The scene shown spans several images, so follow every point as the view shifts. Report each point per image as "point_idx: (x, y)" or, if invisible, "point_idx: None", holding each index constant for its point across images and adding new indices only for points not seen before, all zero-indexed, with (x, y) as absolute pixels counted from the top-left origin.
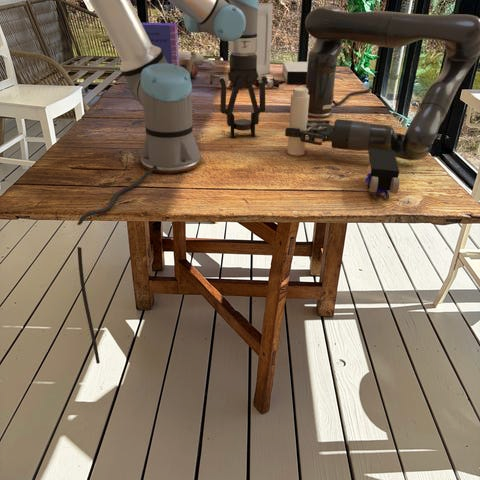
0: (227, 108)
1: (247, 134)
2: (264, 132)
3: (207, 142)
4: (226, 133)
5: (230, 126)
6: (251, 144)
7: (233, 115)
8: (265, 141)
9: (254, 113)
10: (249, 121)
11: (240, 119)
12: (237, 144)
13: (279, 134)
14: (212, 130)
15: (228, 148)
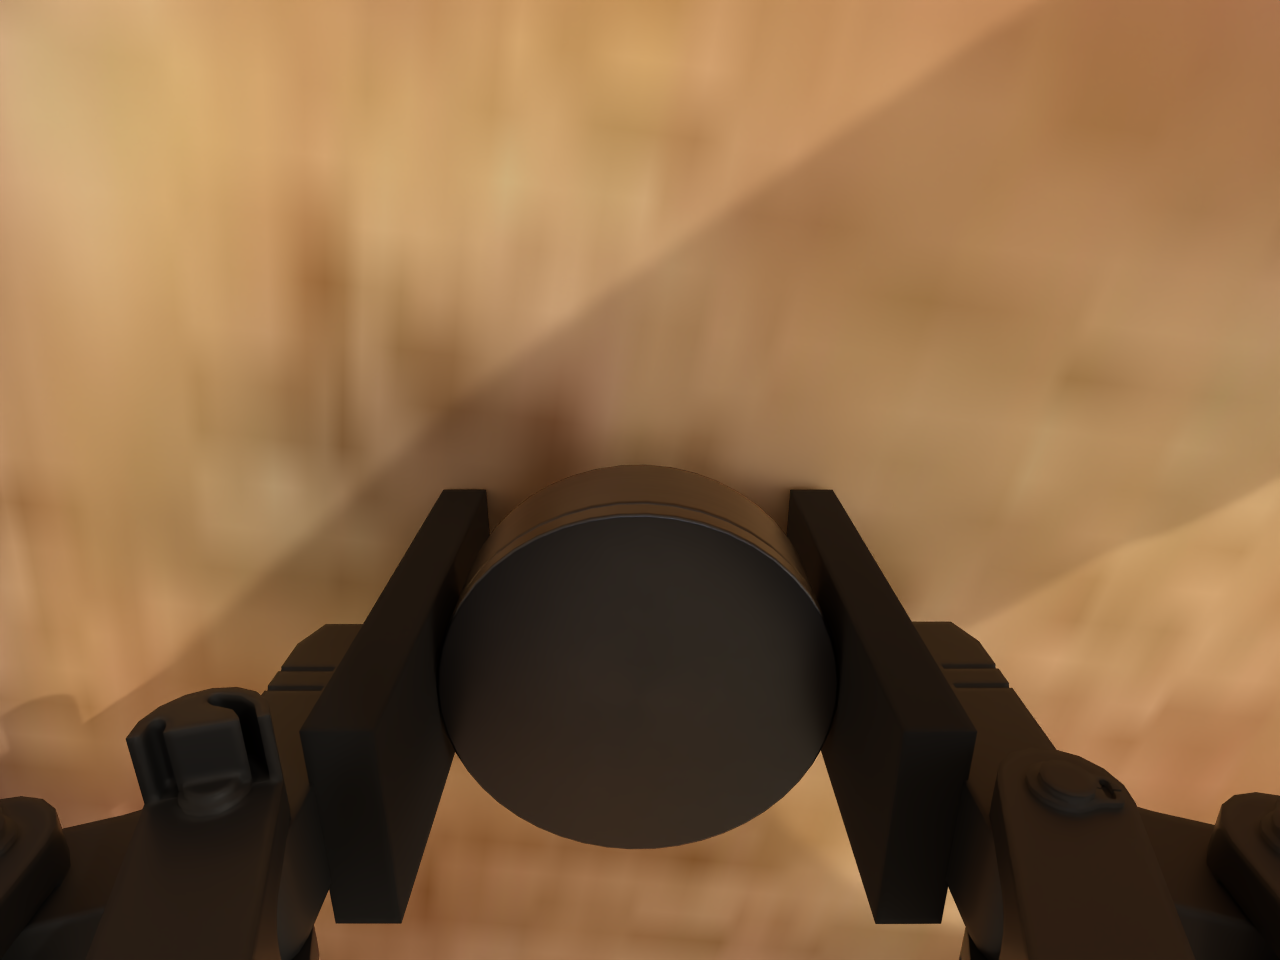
0: (128, 905)
1: (734, 481)
2: (1052, 418)
3: (93, 734)
4: (378, 388)
5: (403, 559)
6: (695, 853)
7: (381, 886)
8: None
9: (954, 851)
10: (789, 691)
11: (617, 537)
12: (512, 836)
13: (1247, 542)
14: (101, 177)
15: (386, 934)
